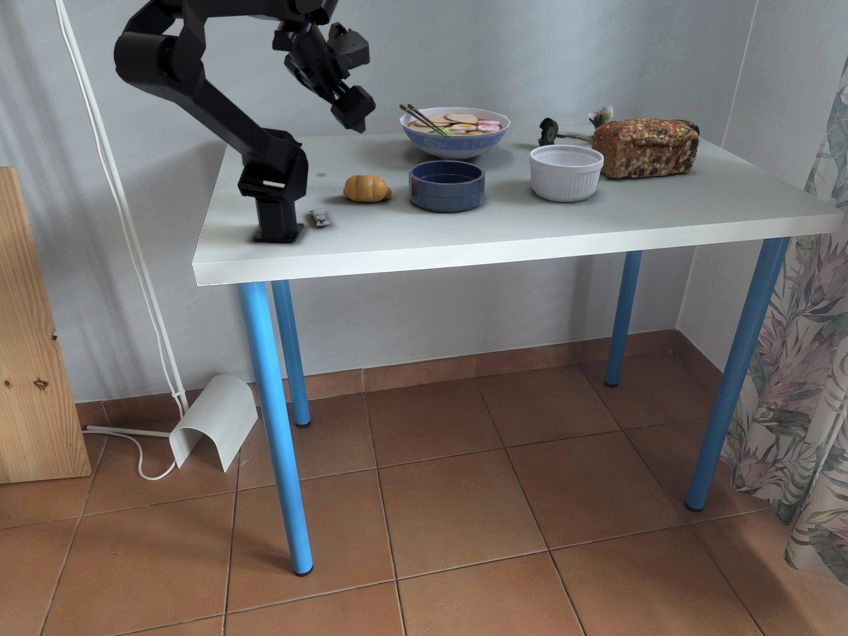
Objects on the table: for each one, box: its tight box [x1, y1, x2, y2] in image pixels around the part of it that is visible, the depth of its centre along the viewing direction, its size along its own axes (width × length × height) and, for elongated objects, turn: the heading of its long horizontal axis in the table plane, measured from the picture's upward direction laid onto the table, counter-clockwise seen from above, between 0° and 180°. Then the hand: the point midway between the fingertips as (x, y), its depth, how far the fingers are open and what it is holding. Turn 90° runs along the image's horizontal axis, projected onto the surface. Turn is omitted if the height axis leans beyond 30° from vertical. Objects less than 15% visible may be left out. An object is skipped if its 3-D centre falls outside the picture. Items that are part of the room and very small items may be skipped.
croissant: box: [342, 174, 393, 203], centre depth 117 cm, size 5×9×4 cm, turn 88°
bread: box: [591, 117, 700, 180], centre depth 134 cm, size 19×11×10 cm, turn 108°
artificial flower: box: [537, 104, 614, 147], centre depth 151 cm, size 9×22×10 cm, turn 117°
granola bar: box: [309, 208, 331, 227], centre depth 109 cm, size 7×2×1 cm, turn 21°
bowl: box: [408, 159, 486, 213], centre depth 118 cm, size 13×13×5 cm
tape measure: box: [672, 118, 701, 137], centre depth 156 cm, size 7×7×4 cm
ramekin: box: [528, 144, 604, 203], centre depth 122 cm, size 13×13×7 cm
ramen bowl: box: [399, 103, 512, 162], centre depth 139 cm, size 25×23×8 cm
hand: (348, 116), depth 116 cm, fingers open, 9 cm apart
